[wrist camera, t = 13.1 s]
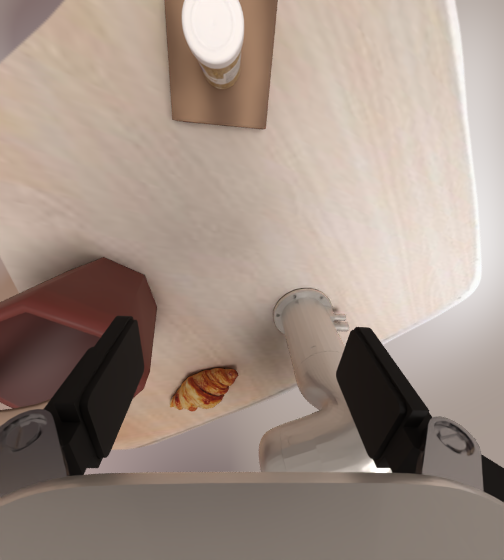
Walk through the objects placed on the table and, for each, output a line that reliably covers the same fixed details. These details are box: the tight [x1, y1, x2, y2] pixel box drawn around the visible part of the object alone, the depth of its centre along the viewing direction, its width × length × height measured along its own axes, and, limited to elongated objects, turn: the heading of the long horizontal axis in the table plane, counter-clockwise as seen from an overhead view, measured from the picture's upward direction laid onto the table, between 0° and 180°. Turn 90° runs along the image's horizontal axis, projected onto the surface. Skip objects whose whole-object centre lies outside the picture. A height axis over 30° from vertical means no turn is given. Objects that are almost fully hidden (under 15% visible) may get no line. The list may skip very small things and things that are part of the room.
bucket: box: [0, 257, 157, 426], centre depth 38 cm, size 24×22×25 cm
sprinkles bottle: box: [182, 0, 244, 89], centre depth 24 cm, size 5×5×14 cm
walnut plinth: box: [165, 0, 278, 129], centre depth 31 cm, size 12×12×4 cm
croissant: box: [170, 368, 238, 411], centre depth 61 cm, size 21×10×8 cm, turn 126°
